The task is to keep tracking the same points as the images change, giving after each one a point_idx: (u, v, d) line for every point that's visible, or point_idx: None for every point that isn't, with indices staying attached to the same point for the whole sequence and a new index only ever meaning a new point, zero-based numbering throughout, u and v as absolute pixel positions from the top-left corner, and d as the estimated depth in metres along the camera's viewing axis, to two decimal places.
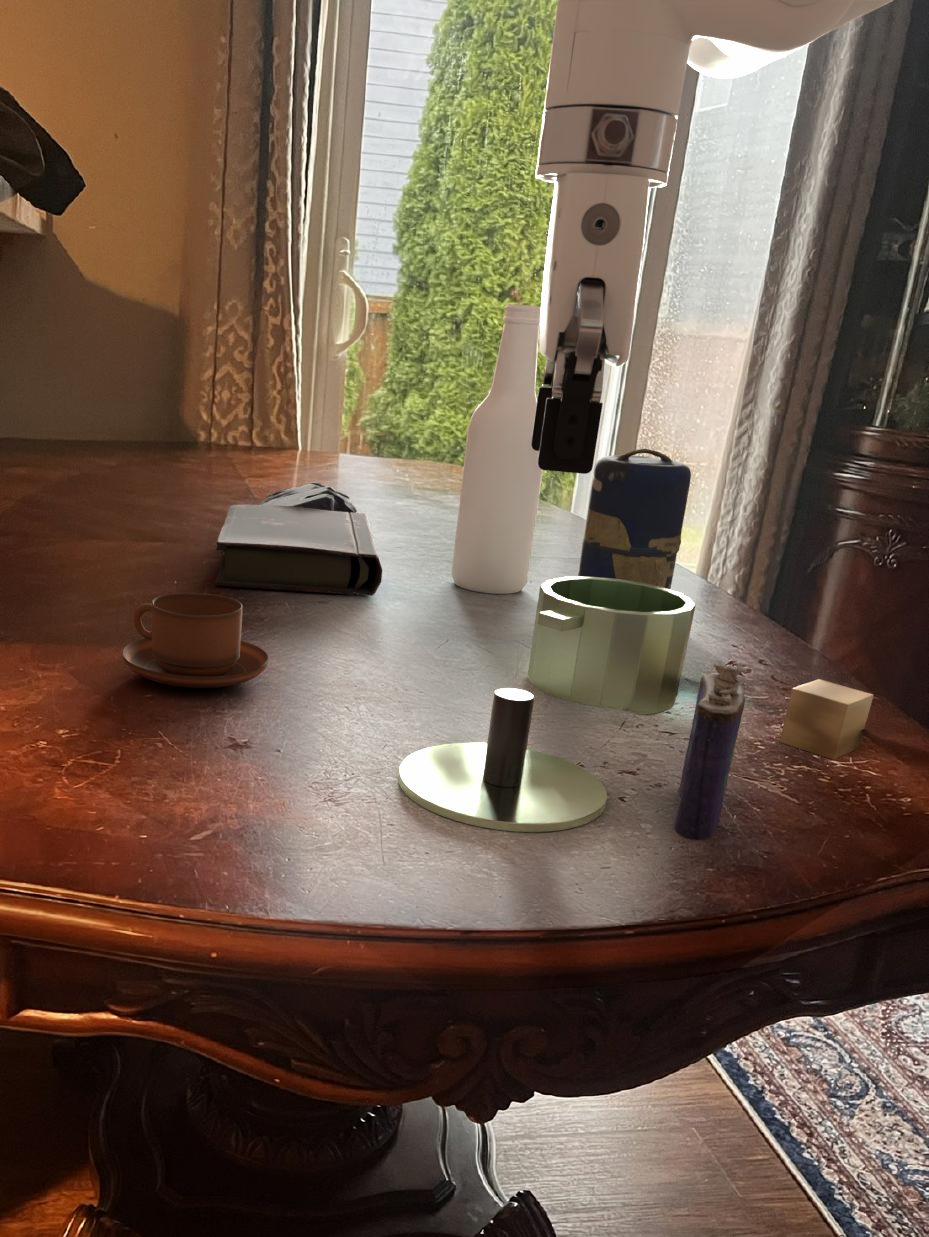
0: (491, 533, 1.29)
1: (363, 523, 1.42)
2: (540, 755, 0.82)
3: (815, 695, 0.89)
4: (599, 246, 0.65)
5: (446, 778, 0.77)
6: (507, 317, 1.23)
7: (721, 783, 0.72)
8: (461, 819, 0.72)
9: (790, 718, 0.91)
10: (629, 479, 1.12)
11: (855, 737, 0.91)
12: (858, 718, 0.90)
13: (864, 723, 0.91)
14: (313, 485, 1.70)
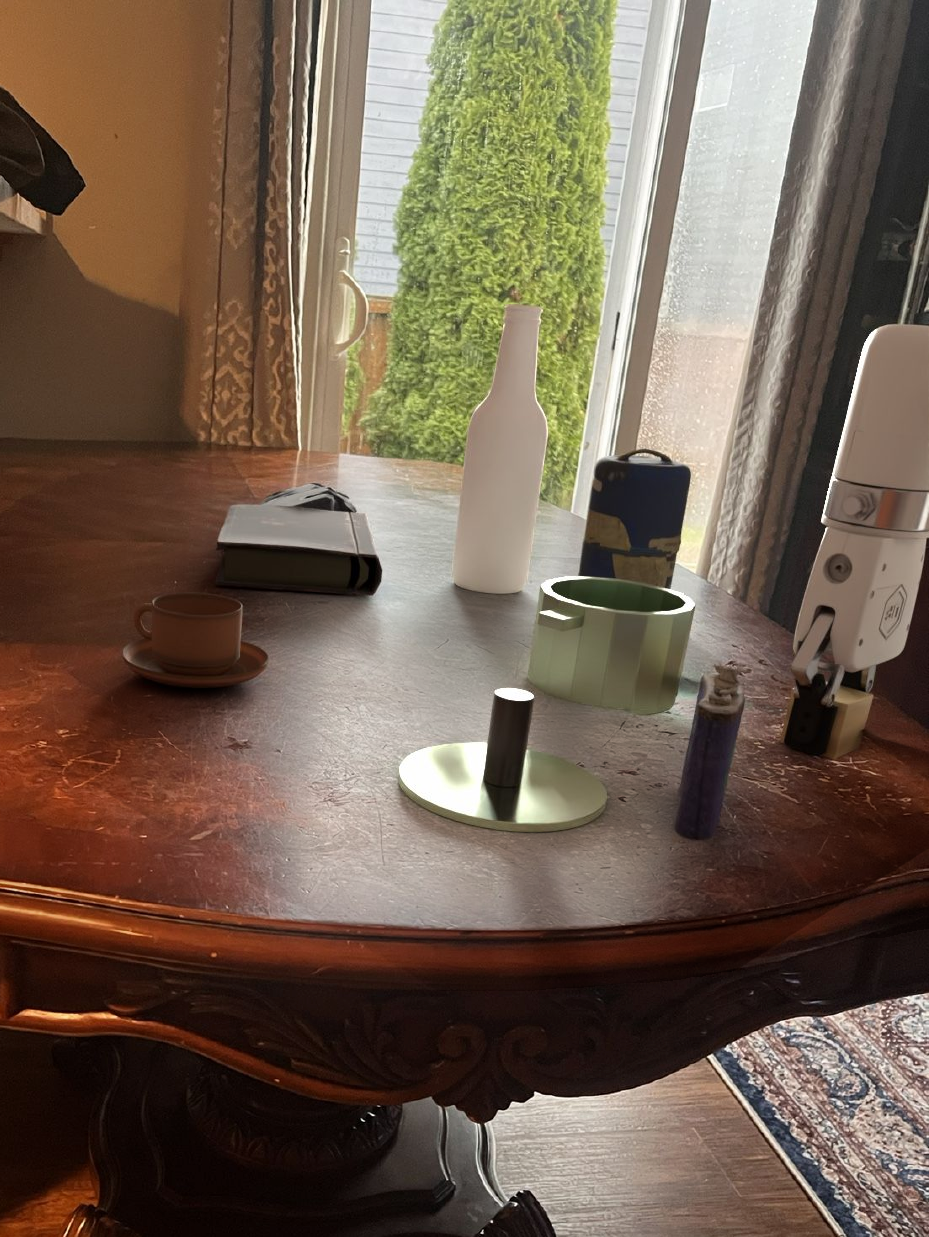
0: (491, 533, 1.29)
1: (363, 523, 1.42)
2: (540, 755, 0.82)
3: None
4: (834, 584, 0.84)
5: (446, 778, 0.77)
6: (507, 317, 1.23)
7: (721, 783, 0.72)
8: (461, 819, 0.72)
9: None
10: (629, 479, 1.12)
11: (855, 737, 0.91)
12: (858, 718, 0.90)
13: (864, 723, 0.91)
14: (313, 485, 1.70)
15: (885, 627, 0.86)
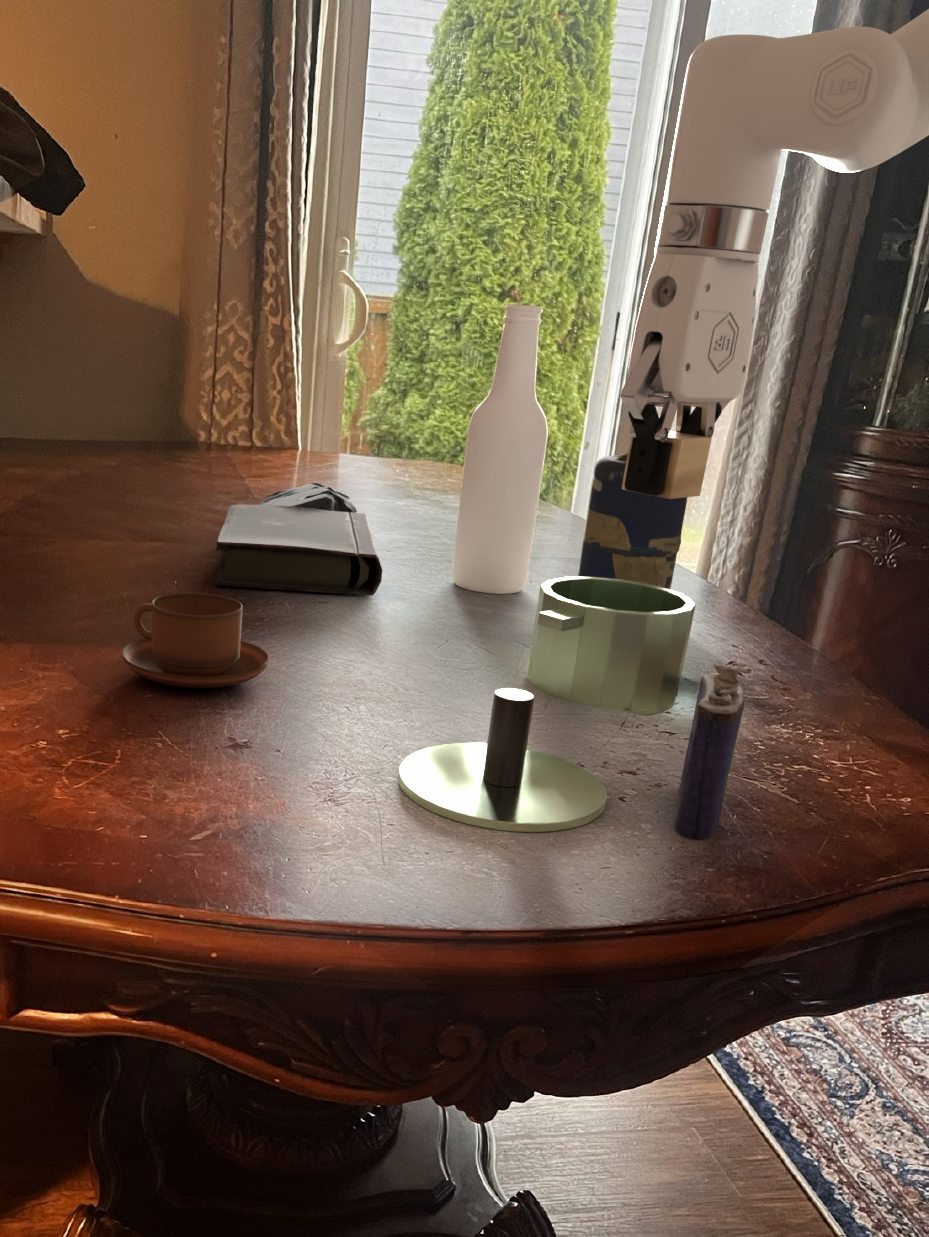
0: (491, 534, 1.29)
1: (363, 523, 1.42)
2: (540, 755, 0.82)
3: None
4: (660, 308, 0.85)
5: (446, 778, 0.77)
6: (507, 317, 1.23)
7: (721, 783, 0.72)
8: (461, 819, 0.72)
9: None
10: None
11: (694, 481, 0.92)
12: (696, 460, 0.91)
13: (703, 468, 0.92)
14: (313, 485, 1.70)
15: (716, 358, 0.87)
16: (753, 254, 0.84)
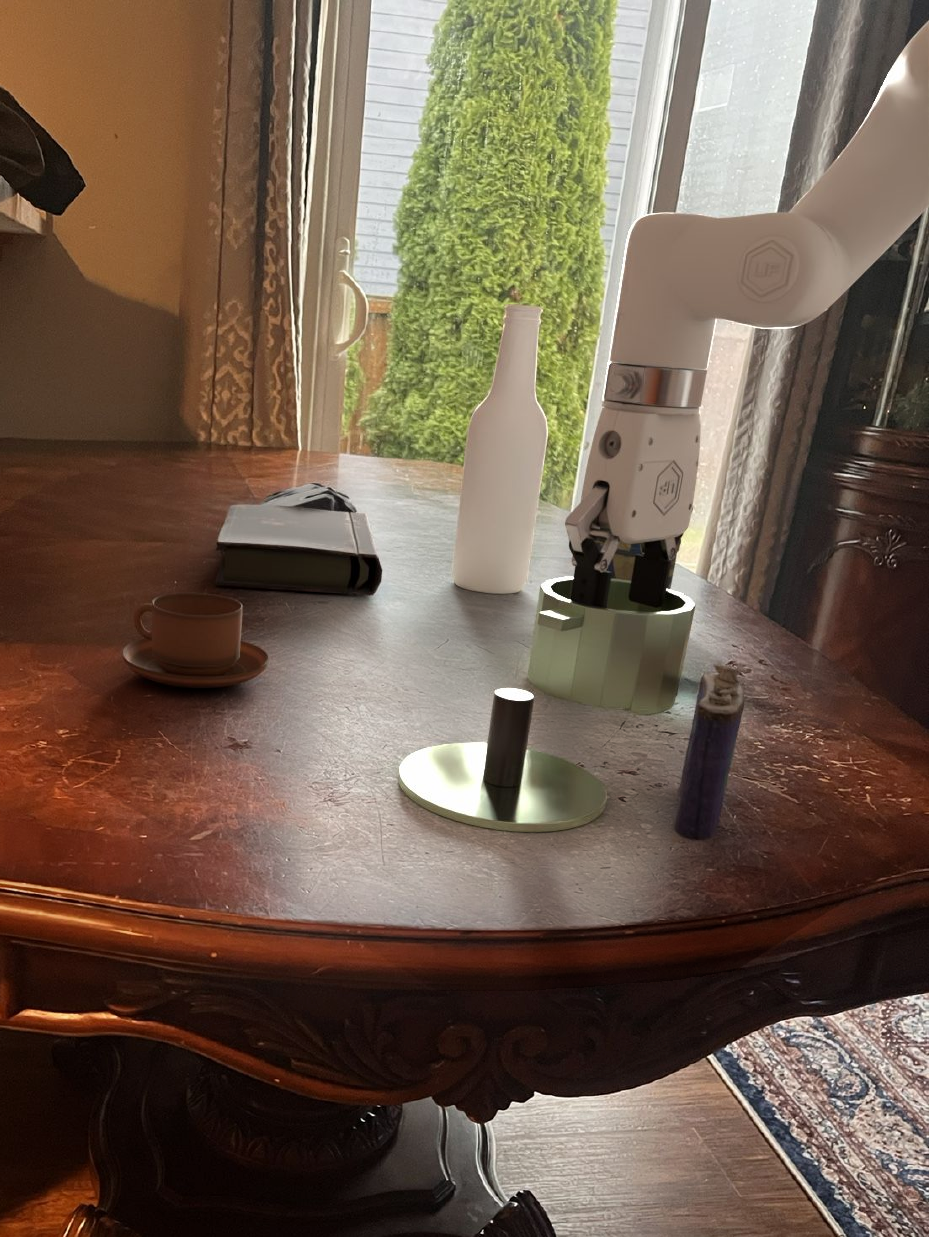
0: (491, 534, 1.29)
1: (363, 523, 1.42)
2: (540, 755, 0.82)
3: None
4: (607, 459, 0.90)
5: (446, 778, 0.77)
6: (507, 317, 1.23)
7: (721, 783, 0.72)
8: (461, 819, 0.72)
9: None
10: None
11: None
12: None
13: None
14: (313, 485, 1.70)
15: (661, 502, 0.93)
16: (693, 409, 0.89)
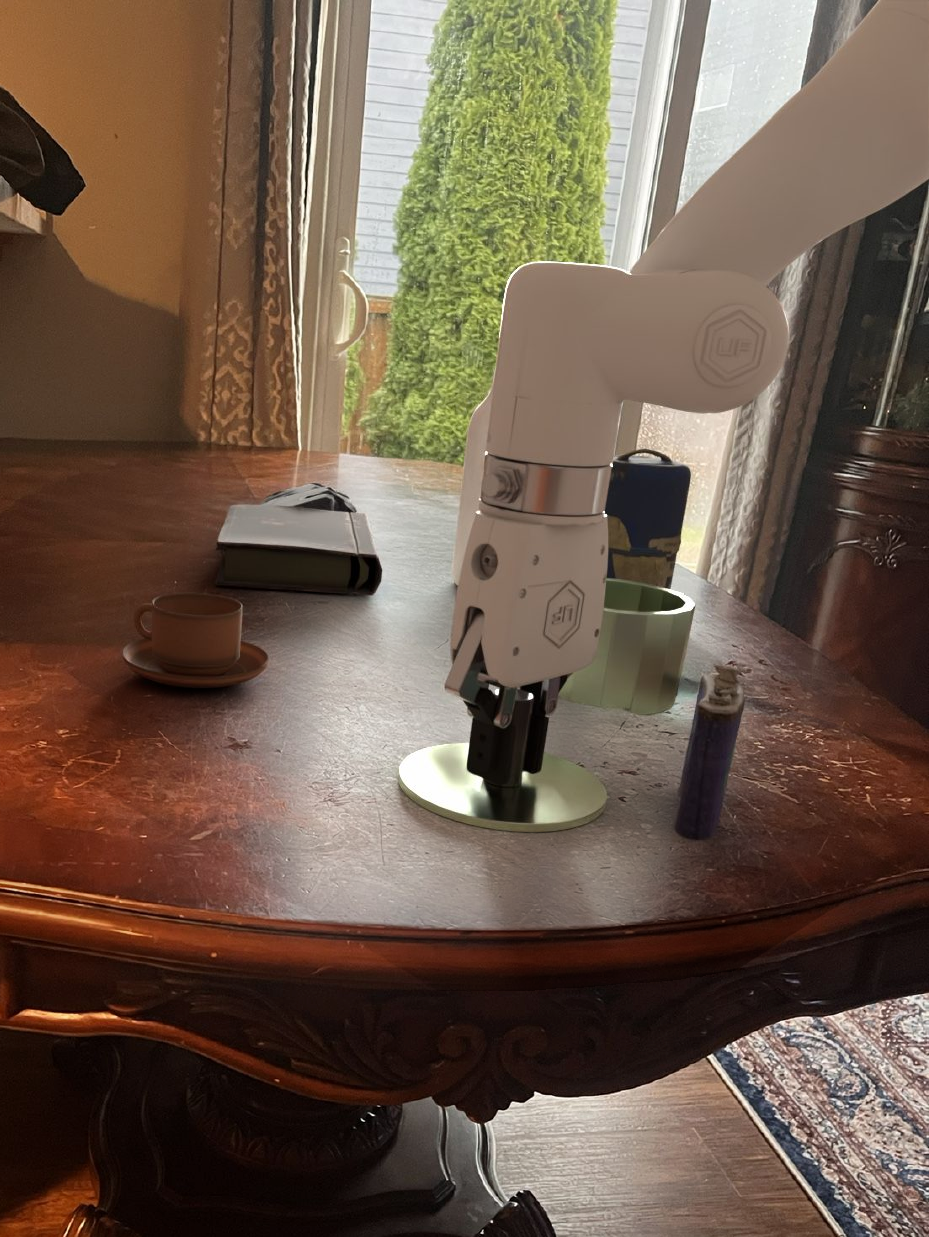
0: None
1: (363, 523, 1.42)
2: None
3: None
4: (481, 581, 0.69)
5: (446, 778, 0.77)
6: None
7: (721, 783, 0.72)
8: (461, 819, 0.72)
9: None
10: (629, 479, 1.12)
11: None
12: None
13: None
14: (313, 485, 1.70)
15: (555, 633, 0.71)
16: (593, 517, 0.68)
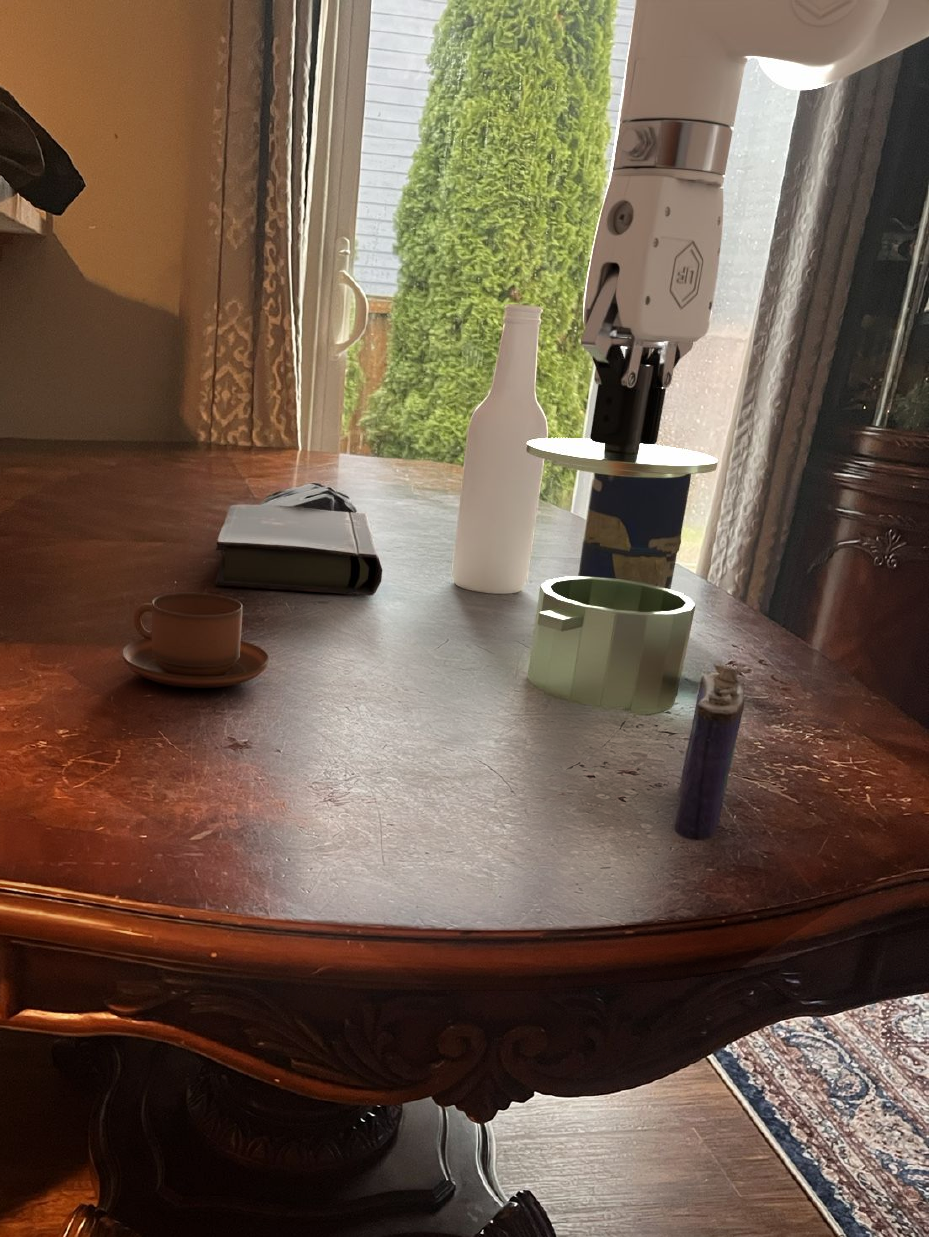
0: (491, 533, 1.29)
1: (363, 523, 1.42)
2: (648, 445, 0.91)
3: None
4: (617, 236, 0.77)
5: (571, 448, 0.86)
6: (507, 317, 1.23)
7: (721, 783, 0.72)
8: (594, 464, 0.81)
9: None
10: (629, 479, 1.12)
11: None
12: None
13: None
14: (313, 485, 1.70)
15: (678, 292, 0.80)
16: (717, 175, 0.77)
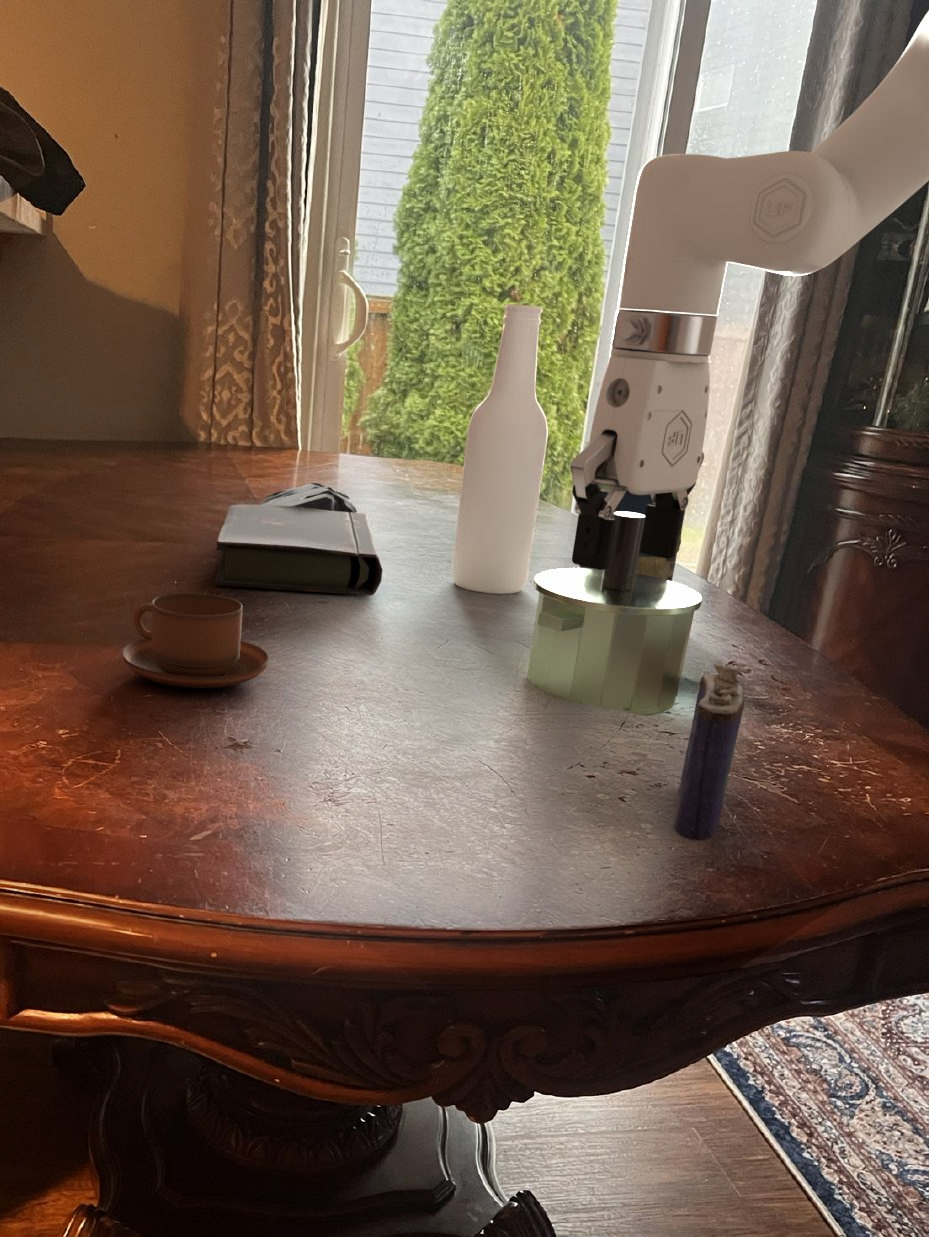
0: (491, 534, 1.29)
1: (363, 523, 1.42)
2: (642, 576, 1.03)
3: None
4: (615, 408, 0.89)
5: (573, 585, 0.97)
6: (507, 317, 1.23)
7: (721, 783, 0.72)
8: (592, 606, 0.92)
9: None
10: None
11: None
12: None
13: None
14: (313, 485, 1.70)
15: (670, 453, 0.91)
16: (703, 357, 0.88)
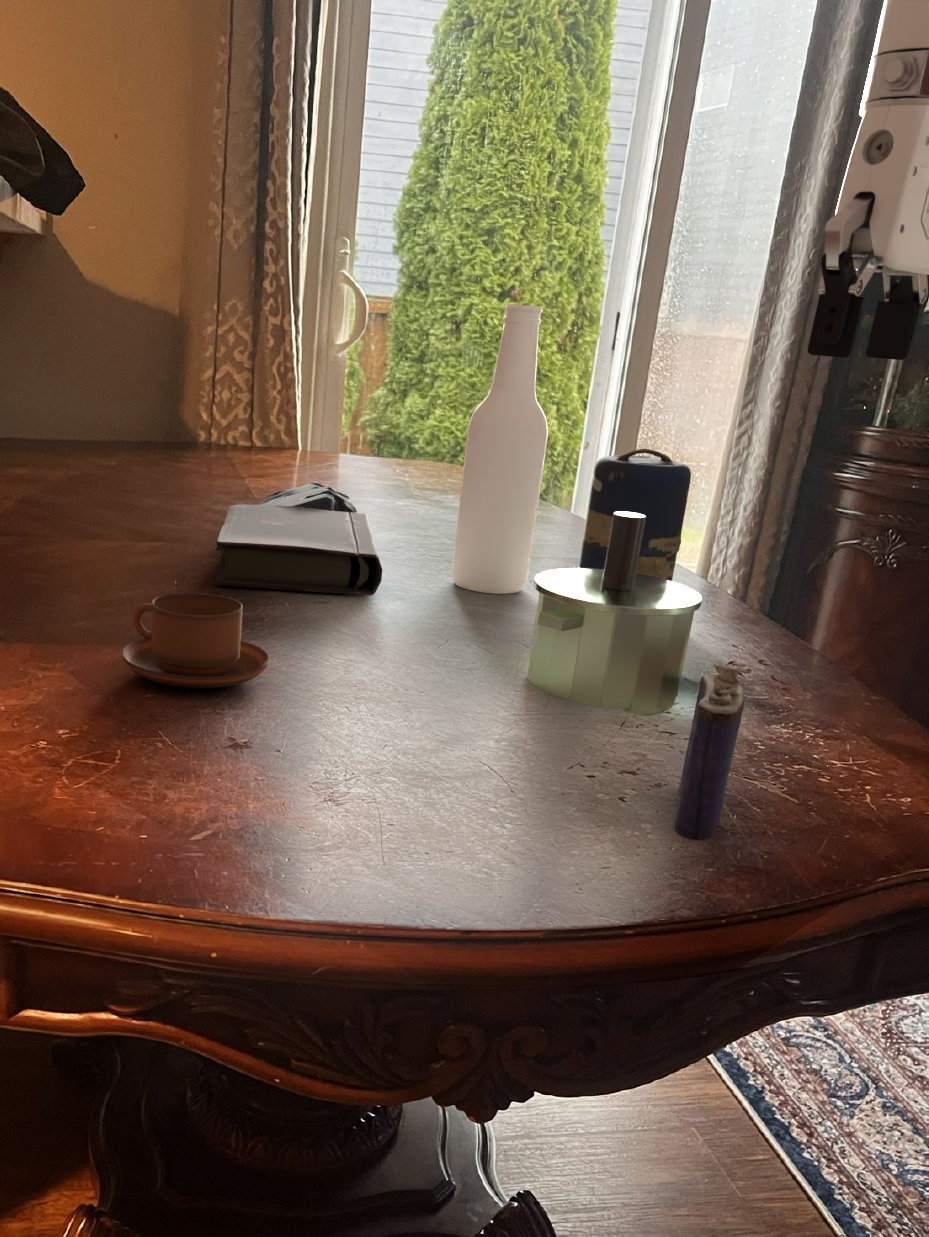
0: (491, 534, 1.29)
1: (363, 523, 1.42)
2: (642, 576, 1.03)
3: None
4: (874, 165, 0.79)
5: (573, 585, 0.97)
6: (507, 317, 1.23)
7: (721, 783, 0.72)
8: (592, 606, 0.92)
9: None
10: (629, 479, 1.12)
11: None
12: None
13: None
14: (313, 485, 1.70)
15: (927, 223, 0.82)
16: None
